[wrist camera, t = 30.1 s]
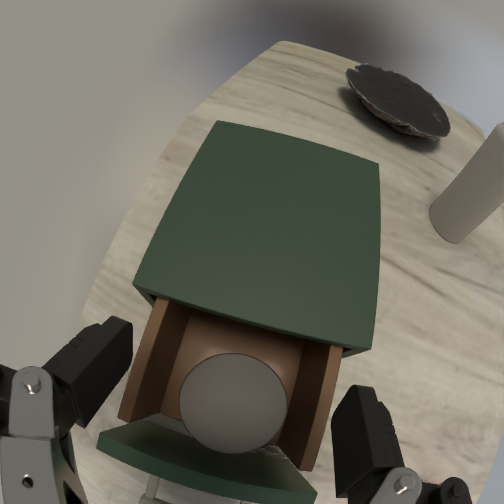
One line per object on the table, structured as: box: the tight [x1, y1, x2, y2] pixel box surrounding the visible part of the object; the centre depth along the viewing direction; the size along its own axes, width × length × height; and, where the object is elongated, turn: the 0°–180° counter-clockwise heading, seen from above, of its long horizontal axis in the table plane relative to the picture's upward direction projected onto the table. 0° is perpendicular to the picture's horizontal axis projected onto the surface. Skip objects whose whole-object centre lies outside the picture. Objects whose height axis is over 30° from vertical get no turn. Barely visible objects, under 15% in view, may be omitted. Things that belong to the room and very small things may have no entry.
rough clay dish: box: [345, 63, 450, 138], centre depth 40 cm, size 22×22×5 cm
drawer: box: [96, 296, 343, 504], centre depth 16 cm, size 18×12×8 cm
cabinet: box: [132, 120, 381, 358], centre depth 22 cm, size 15×14×10 cm
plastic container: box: [178, 353, 288, 454], centre depth 15 cm, size 5×5×9 cm
